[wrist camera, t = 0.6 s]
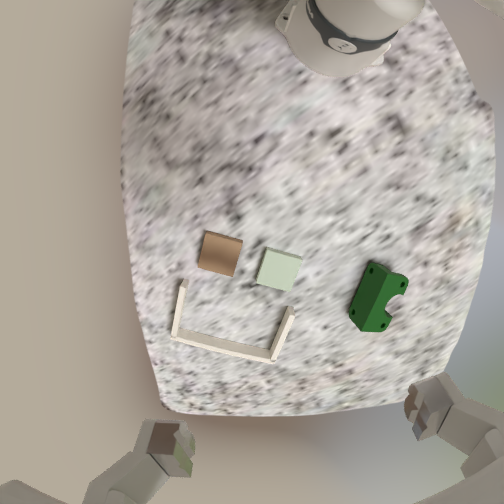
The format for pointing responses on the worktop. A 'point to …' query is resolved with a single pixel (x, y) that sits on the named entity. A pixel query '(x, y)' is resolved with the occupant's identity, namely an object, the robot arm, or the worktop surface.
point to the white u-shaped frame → (226, 345)
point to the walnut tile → (220, 253)
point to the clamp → (376, 298)
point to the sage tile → (278, 269)
